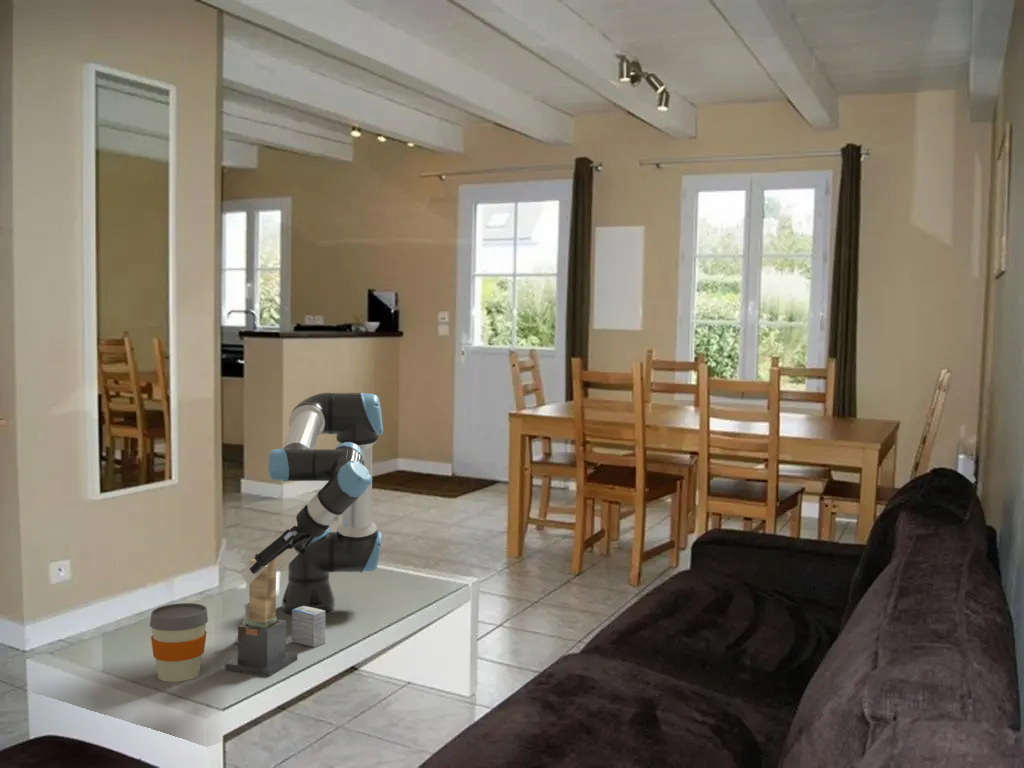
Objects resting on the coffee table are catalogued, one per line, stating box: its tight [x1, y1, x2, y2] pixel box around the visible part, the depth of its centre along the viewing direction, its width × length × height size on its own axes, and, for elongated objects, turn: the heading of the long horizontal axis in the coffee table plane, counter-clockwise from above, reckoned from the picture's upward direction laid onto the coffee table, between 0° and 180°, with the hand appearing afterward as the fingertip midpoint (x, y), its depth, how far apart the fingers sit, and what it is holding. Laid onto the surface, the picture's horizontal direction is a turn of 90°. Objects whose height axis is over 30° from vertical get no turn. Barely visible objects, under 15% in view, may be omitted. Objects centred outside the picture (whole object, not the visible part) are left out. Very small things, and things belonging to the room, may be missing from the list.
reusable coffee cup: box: [149, 602, 209, 683], centre depth 205 cm, size 12×13×15 cm
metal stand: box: [224, 618, 298, 677], centre depth 212 cm, size 12×12×10 cm
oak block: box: [248, 557, 277, 628], centre depth 212 cm, size 5×5×18 cm
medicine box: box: [291, 606, 326, 648], centre depth 229 cm, size 8×4×9 cm, turn 59°
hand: (262, 572), depth 211 cm, fingers open, 13 cm apart
